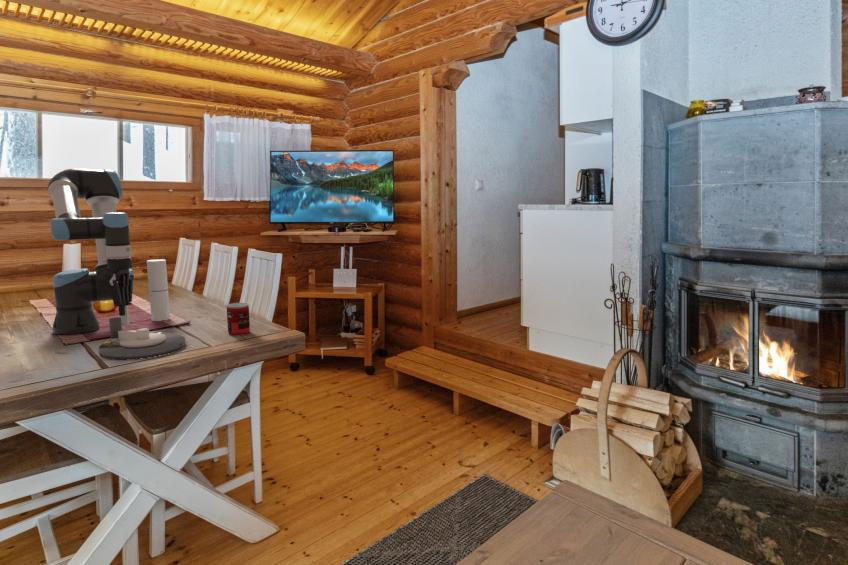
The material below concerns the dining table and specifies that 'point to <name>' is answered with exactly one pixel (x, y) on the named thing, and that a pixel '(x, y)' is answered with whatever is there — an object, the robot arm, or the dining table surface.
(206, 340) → the dining table surface
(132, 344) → the dial
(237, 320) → the canned food
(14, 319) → the dining table surface
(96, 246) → the robot arm
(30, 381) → the dining table surface
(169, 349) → the dial plate
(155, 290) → the cylindrical container
